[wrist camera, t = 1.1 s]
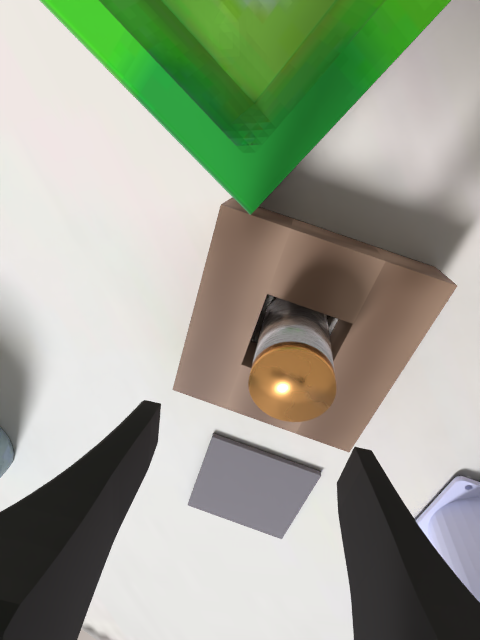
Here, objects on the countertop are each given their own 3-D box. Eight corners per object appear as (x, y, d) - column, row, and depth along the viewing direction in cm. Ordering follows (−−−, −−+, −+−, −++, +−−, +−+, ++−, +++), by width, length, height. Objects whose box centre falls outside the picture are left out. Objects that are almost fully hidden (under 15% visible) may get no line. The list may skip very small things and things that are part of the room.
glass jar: (337, 305, 21) (351, 368, 15) (312, 357, 23) (315, 432, 17) (276, 284, 21) (264, 337, 15) (256, 337, 23) (237, 405, 17)
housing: (436, 267, 19) (457, 285, 16) (344, 420, 25) (349, 452, 22) (232, 197, 19) (220, 204, 17) (186, 364, 25) (172, 389, 22)
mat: (320, 471, 27) (321, 475, 27) (281, 534, 31) (281, 539, 31) (213, 433, 27) (212, 436, 27) (188, 501, 31) (187, 505, 31)
